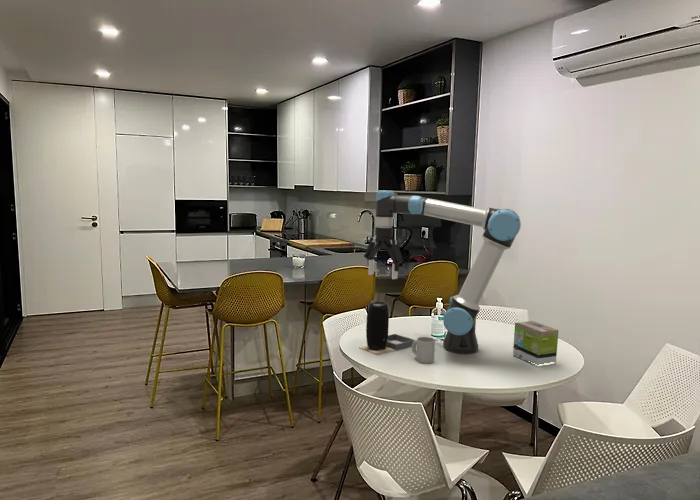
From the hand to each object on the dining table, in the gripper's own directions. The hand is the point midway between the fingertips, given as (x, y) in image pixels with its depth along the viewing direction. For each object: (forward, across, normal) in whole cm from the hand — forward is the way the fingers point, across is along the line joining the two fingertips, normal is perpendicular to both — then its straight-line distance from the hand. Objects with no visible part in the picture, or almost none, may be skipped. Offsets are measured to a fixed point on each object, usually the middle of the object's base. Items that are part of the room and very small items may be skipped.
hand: (382, 276), depth 220 cm
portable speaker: (+31, -1, +3) cm, 31 cm away
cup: (+31, -22, -1) cm, 38 cm away
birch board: (+31, -1, +3) cm, 31 cm away
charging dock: (+31, -1, -8) cm, 32 cm away
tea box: (+32, -51, -38) cm, 71 cm away
